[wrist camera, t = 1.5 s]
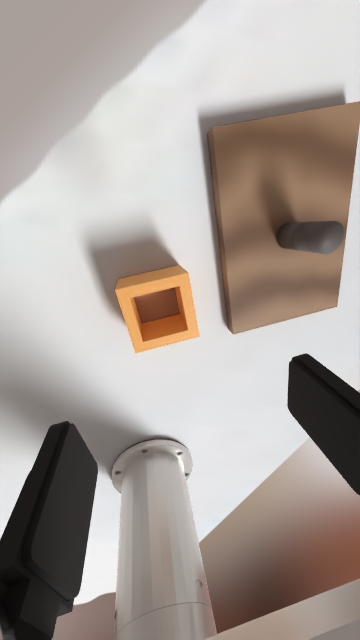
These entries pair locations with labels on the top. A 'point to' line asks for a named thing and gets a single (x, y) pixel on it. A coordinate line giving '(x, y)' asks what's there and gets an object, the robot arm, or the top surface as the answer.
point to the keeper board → (283, 211)
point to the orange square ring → (165, 328)
